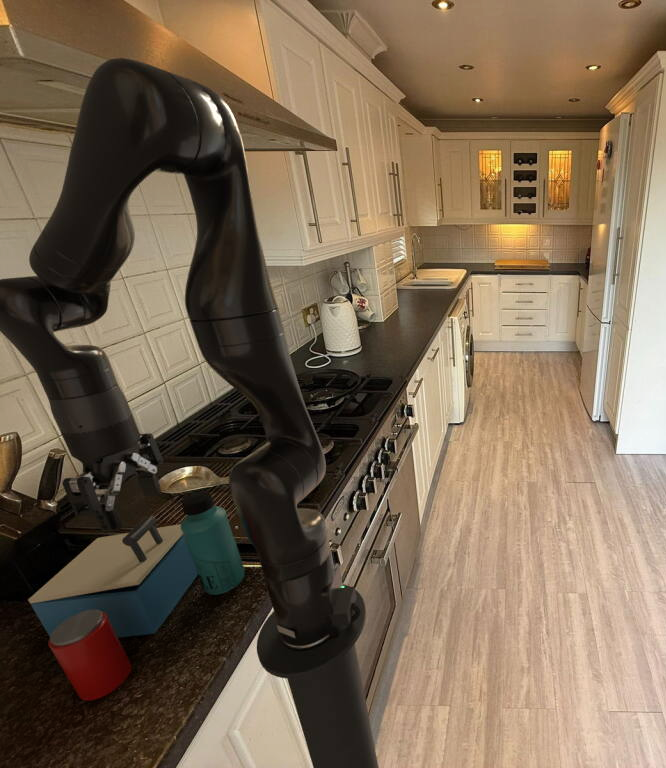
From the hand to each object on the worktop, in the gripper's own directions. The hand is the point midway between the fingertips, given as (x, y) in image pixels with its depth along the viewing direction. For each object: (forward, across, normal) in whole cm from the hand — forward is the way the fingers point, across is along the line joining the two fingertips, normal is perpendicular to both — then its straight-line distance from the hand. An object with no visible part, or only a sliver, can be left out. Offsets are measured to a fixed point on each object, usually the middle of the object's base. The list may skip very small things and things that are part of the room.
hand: (135, 511), depth 64 cm
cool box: (+19, 0, +6) cm, 20 cm away
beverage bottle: (+20, +2, -8) cm, 21 cm away
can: (+19, -13, +1) cm, 23 cm away
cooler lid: (+10, 0, +6) cm, 11 cm away
